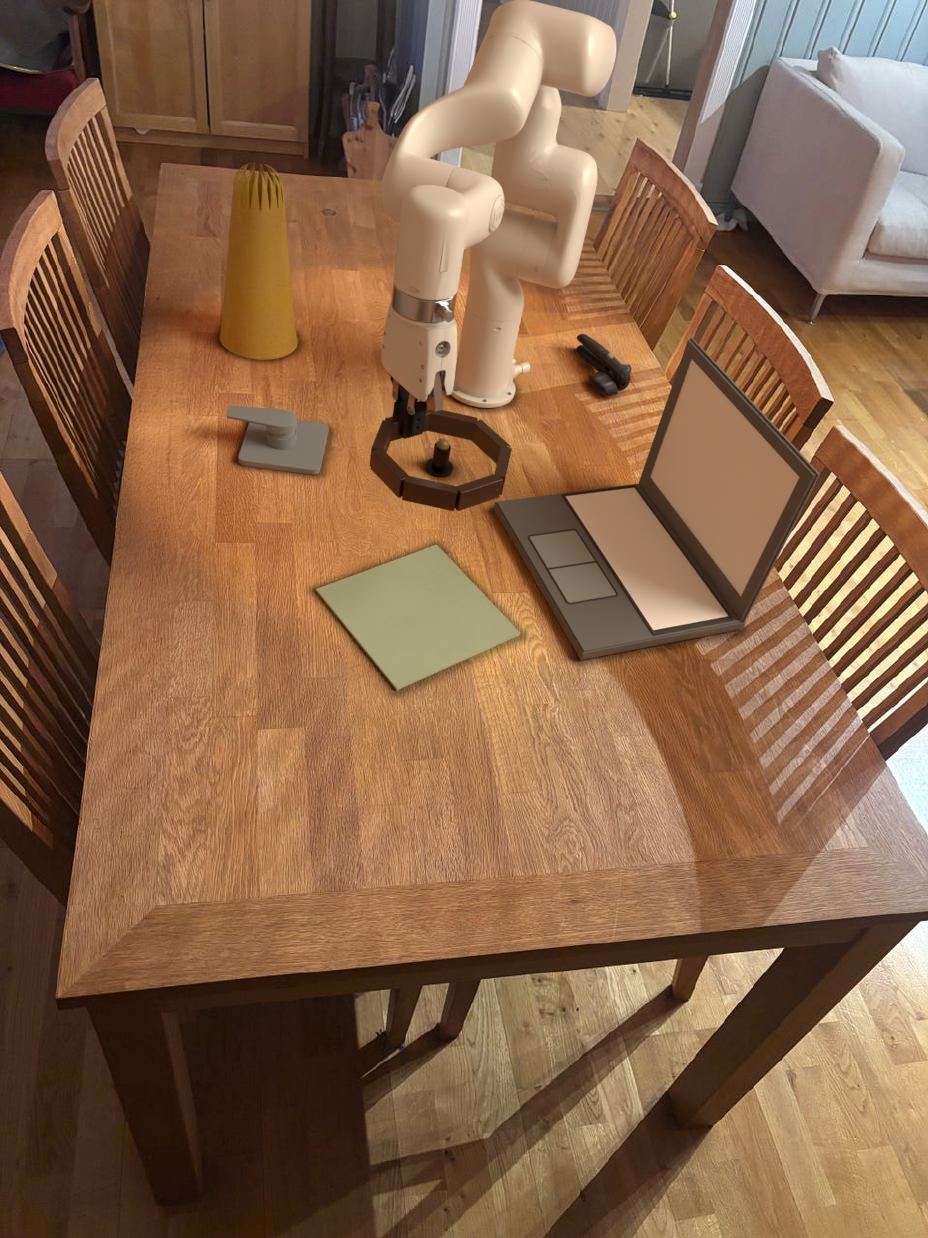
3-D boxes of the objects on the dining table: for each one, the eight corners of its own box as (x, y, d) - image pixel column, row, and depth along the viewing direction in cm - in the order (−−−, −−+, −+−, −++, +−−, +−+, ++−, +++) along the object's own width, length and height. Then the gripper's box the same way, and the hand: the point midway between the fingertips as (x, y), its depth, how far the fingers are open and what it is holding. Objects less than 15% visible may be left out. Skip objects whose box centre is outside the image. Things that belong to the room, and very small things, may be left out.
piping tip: (274, 368, 167) (275, 193, 146) (204, 343, 169) (195, 167, 148) (311, 334, 176) (317, 166, 155) (244, 311, 178) (242, 142, 157)
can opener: (634, 399, 177) (643, 372, 173) (600, 402, 175) (608, 375, 171) (594, 347, 188) (601, 321, 184) (561, 349, 186) (568, 323, 182)
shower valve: (234, 386, 152) (330, 400, 153) (235, 416, 156) (329, 429, 157) (218, 432, 143) (320, 446, 144) (220, 462, 147) (318, 475, 148)
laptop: (492, 510, 148) (527, 348, 129) (641, 491, 158) (695, 337, 138) (579, 662, 129) (636, 498, 109) (743, 630, 138) (824, 473, 118)
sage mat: (436, 546, 141) (436, 544, 141) (520, 635, 131) (520, 633, 131) (315, 590, 131) (315, 588, 131) (396, 690, 121) (397, 688, 121)
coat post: (442, 457, 156) (447, 428, 152) (458, 472, 154) (463, 443, 150) (419, 464, 154) (424, 435, 150) (435, 480, 152) (440, 451, 148)
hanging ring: (455, 416, 131) (458, 398, 129) (531, 486, 123) (536, 468, 121) (348, 445, 123) (349, 427, 121) (422, 523, 114) (425, 505, 112)
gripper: (488, 325, 111) (464, 456, 124) (413, 264, 119) (398, 393, 132) (435, 338, 108) (416, 471, 120) (361, 274, 116) (351, 405, 128)
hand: (407, 430), depth 126 cm, fingers closed on hanging ring, 1 cm apart
